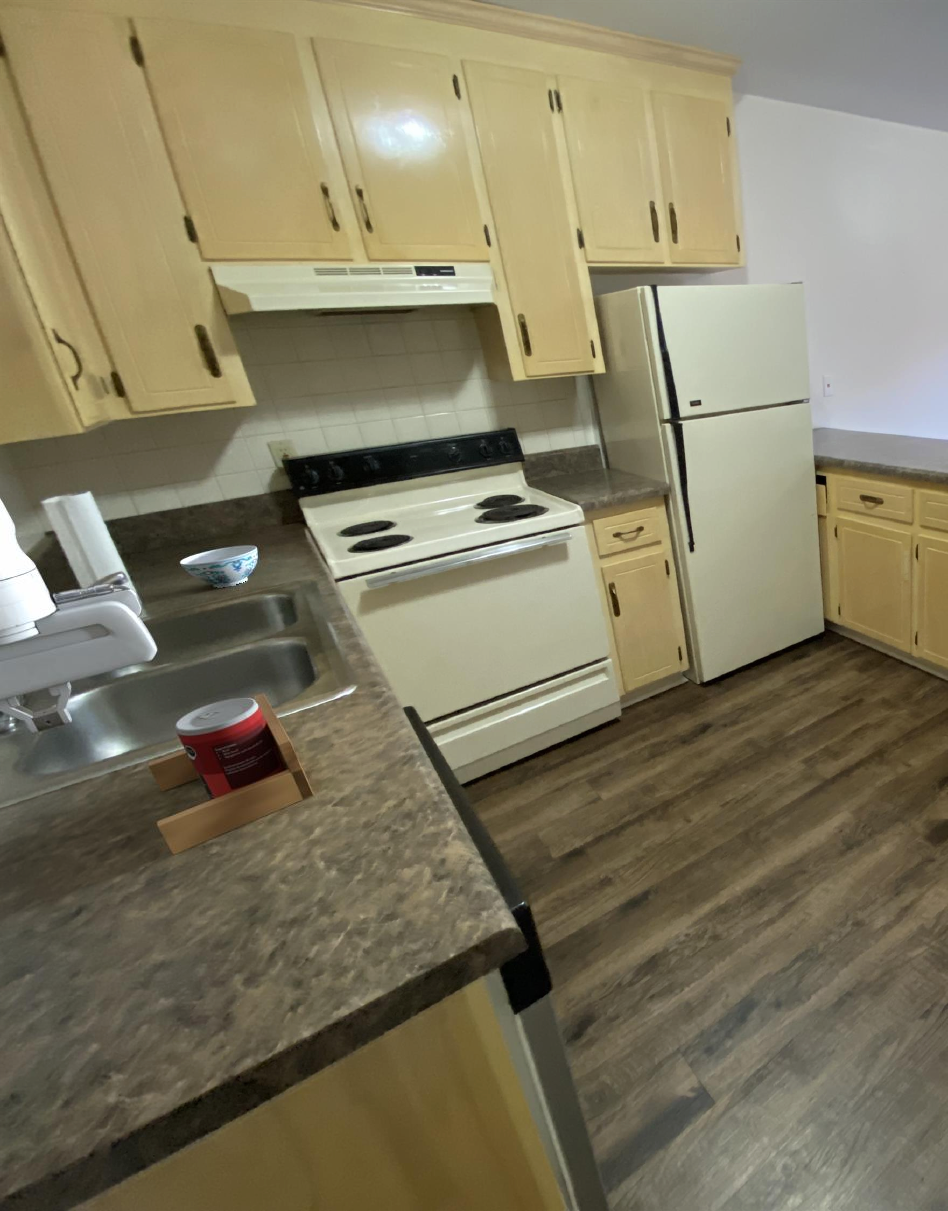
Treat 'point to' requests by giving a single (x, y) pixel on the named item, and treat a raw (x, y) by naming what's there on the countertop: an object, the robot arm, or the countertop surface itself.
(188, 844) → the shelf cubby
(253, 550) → the chinaware
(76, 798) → the countertop surface
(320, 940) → the countertop surface
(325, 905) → the countertop surface
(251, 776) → the canned food
